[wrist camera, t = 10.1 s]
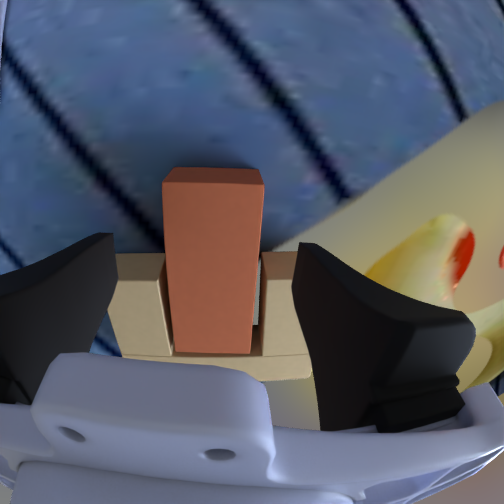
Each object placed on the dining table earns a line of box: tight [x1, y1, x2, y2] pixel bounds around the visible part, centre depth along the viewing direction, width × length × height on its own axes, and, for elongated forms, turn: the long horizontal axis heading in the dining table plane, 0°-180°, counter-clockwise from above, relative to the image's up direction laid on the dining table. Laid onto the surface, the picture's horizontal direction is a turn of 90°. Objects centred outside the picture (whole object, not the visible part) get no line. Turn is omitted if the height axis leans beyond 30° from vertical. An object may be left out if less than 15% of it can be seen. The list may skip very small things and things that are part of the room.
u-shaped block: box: [107, 251, 312, 381], centre depth 18 cm, size 8×12×3 cm, turn 89°
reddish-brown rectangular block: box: [162, 167, 265, 354], centre depth 16 cm, size 10×4×3 cm, turn 176°
